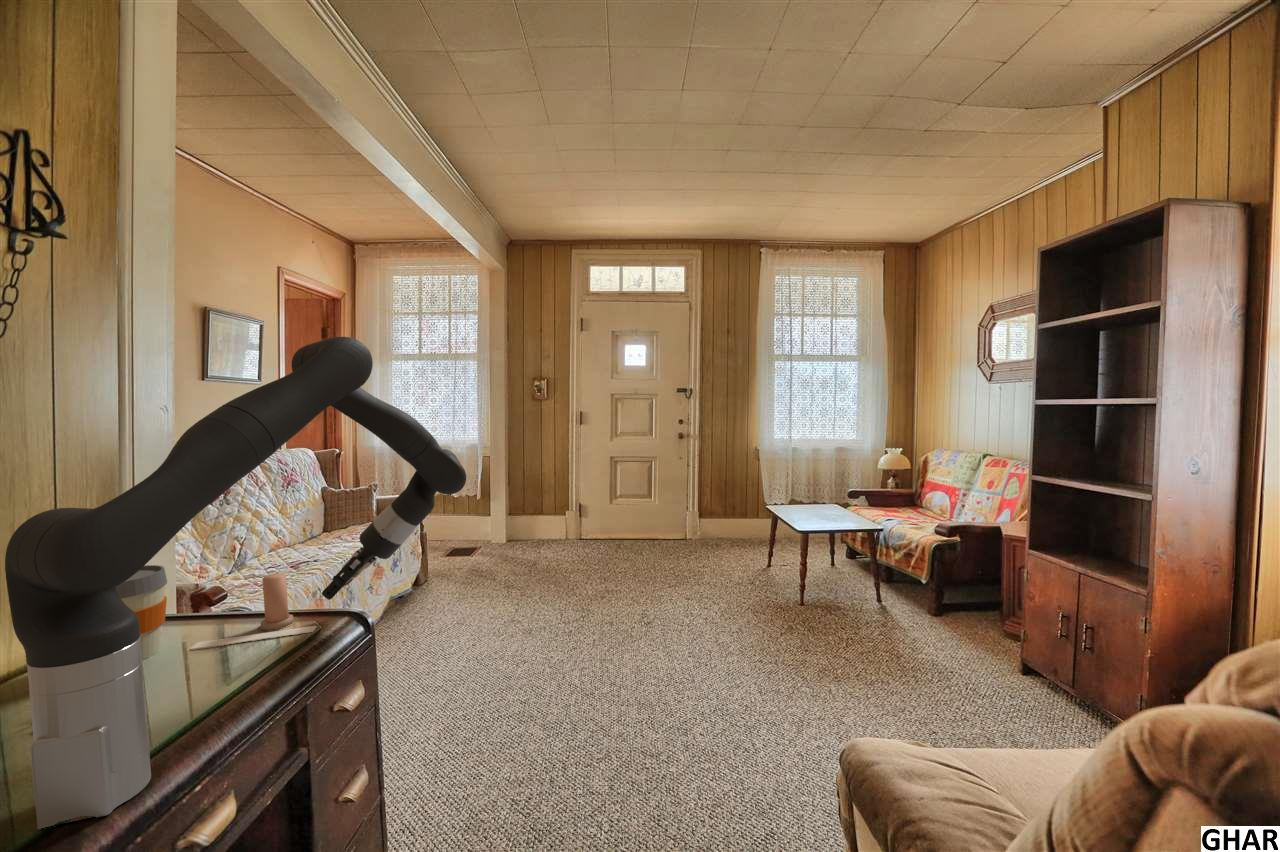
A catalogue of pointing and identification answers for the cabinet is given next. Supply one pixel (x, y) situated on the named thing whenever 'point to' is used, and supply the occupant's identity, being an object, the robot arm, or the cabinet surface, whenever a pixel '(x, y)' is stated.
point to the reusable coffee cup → (147, 604)
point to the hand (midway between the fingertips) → (334, 589)
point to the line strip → (250, 637)
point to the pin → (275, 603)
